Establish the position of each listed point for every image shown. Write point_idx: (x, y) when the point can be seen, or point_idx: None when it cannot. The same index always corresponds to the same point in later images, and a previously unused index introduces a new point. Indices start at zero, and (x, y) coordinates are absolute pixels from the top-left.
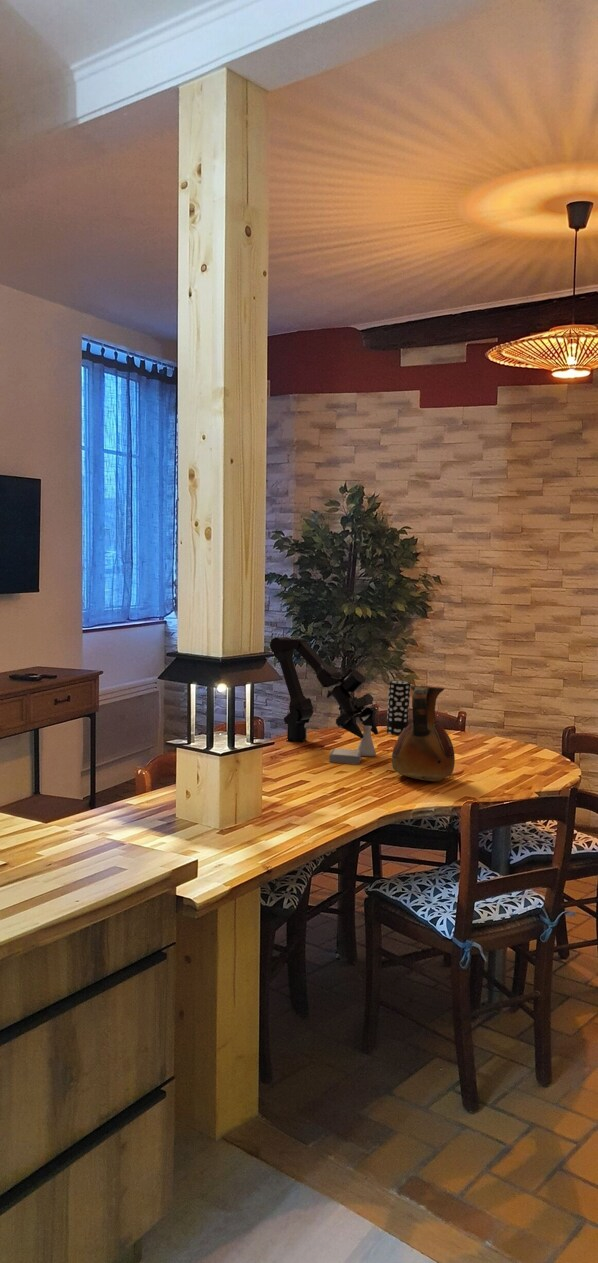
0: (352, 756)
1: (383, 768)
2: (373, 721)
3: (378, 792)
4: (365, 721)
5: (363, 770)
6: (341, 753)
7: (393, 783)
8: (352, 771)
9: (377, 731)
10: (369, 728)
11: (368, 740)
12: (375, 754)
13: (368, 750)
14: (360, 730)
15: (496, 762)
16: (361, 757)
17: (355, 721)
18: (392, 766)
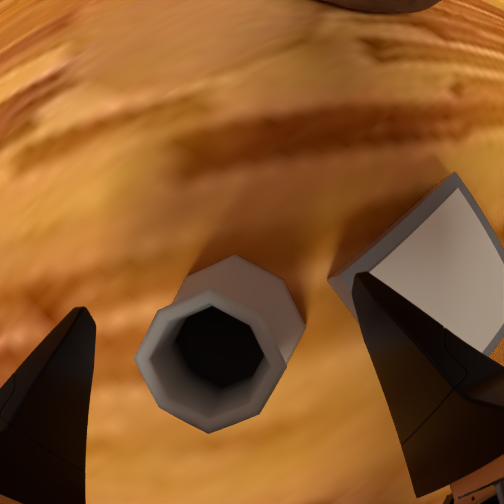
0: (476, 203)
1: (379, 81)
2: (9, 404)
3: (498, 27)
4: (59, 501)
5: (465, 119)
6: (490, 281)
7: (444, 14)
8: (500, 141)
9: (70, 316)
10: (228, 299)
11: (247, 295)
12: (200, 270)
13: (264, 278)
14: (396, 313)
15: (15, 24)
16: (343, 266)
17: (498, 391)
18: (433, 4)
